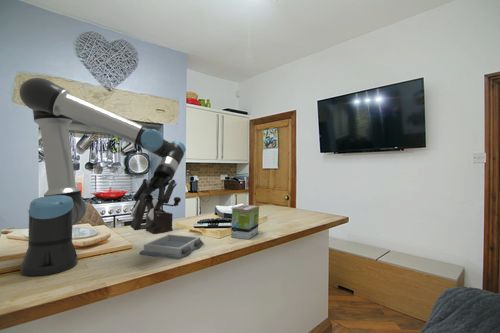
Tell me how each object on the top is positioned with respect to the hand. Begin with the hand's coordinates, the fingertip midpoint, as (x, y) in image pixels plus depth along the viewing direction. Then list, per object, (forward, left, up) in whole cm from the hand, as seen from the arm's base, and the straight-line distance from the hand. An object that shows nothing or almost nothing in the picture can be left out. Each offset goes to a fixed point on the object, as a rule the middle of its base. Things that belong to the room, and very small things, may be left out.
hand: (141, 217), depth 90 cm
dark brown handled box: (-22, +46, -17) cm, 54 cm away
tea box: (+23, +51, -17) cm, 58 cm away
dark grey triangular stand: (0, +2, -4) cm, 5 cm away
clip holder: (+1, +19, -17) cm, 25 cm away
